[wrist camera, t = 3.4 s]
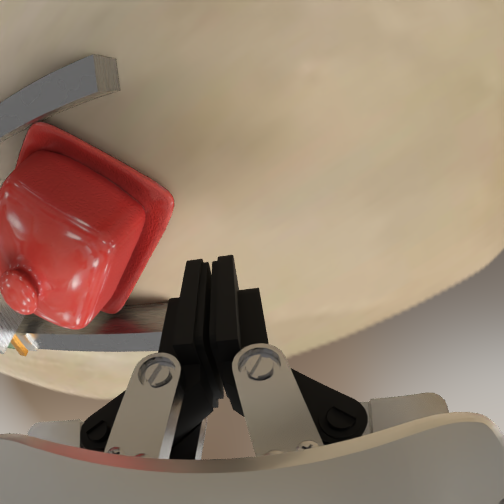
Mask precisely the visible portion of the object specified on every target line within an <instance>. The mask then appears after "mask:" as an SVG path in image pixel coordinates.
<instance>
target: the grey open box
mask: <svg viewBox="0 0 504 504" xmlns="http://www.w3.org/2000/svg"><path fill="white" fill-rule="evenodd" d="M116 91H120V85H119V78H118V71H117V63H116V59H115V58H110V57H105V56H99V55H94V54H93V55H90V56H88V57H85V58H83V59H81V60H78V61H76V62H74V63H71V64H69V65H67V66H65V67H63V68H61V69H59V70H56V71H54V72H52V73H50V74H49V75H47V76H45V77H43V78H41V79H39V80H37V81H35V82H34V83H32V84H30V85H28V86H27V87H25V88H23V89H21V90H20V91H18V92H17V93H15V94H13V95H12V96H10V97H9V98H7V99H5V100H4V101H2V102H1V103H0V142H2V141H4V140H5V139H7V138H9V137H11V136H13V135H14V134H16V133H18V132H20V131H22V130H24V129H26V128H28V127H30V126H31V125H32V124H33V123H35V122H40V121H42V120H44V119H46V118H48V117H50V116H53V115H55V114H57V113H60V112H62V111H64V110H67V109H69V108H72V107H74V106H77V105H79V104H82V103H84V102H87V101H90V100H92V99H95V98H98V97H101V96H104V95H107V94H110V93H113V92H116ZM167 306H168V302H167V303H156V304H144V305H131V306H123V307H122V309H121V310H120V311H119V312H117V313H115V314H109V313H105V312H103V311H100V312H99V313H98V314H97V315H96V316H95V317H94V319H93V320H92V321H91V322H90V323H89V324H88V325H87V326H86V327H84V328H82V329H68V328H64V327H61V326H58V325H56V324H53V323H51V322H49V321H46V320H45V319H43V318H41V317H39V316H37V315H35V314H34V313H32V314H29V315H25V317H24V319H23V320H22V322H21V324H20V326H19V327H18V329H17V331H16V332H15V334H16V335H17V337H18V338H19V340H20V341H21V342H22V344H23V345H24V346H25V347H26V349H27V350H31V351H37V350H38V349H50V350H68V351H104V352H125V351H159V345H160V340H161V335H162V330H163V325H164V320H165V315H166V311H167ZM7 348H12V349H15V347H14V346H13V345H12V344H11V342H10V343H9V345H8V347H7Z"/></svg>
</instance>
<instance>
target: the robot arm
mask: <svg viewBox="0 0 504 504" xmlns="http://www.w3.org/2000/svg"><path fill="white" fill-rule="evenodd" d="M223 386H224V389H225V391H226V394H227V397H228V398H229V399H230V402H231V404H232V407H233V410H235V411H236V412H238V413H239V414H241V415H242V416H244V417H245V420H246V424H247V427H248V431H249V435H250V438H251V442H252V445H253V449H254V452H255V455H256V457H246V458H234V459H233V458H232V459H212V460H201V455H202V449H203V443H204V437H205V431H206V425H207V416H208V415H209V414H210V413H211V412H212V411H213V408H216V407H218V399H223V397H224V392H223ZM0 504H504V435H503V434H502V432H501V430H500V429H499V428H498V427H497V425H496V424H495V423H494V422H493V421H492V420H491V419H489V418H488V417H486V416H484V415H482V414H478V413H470V412H452V413H449V411H448V406H447V404H446V402H445V400H444V399H443V398H442V397H441V396H440V395H437V394H435V393H421V394H414V395H406V396H398V397H389V398H377V399H371V400H370V401H369V402H358V401H356V400H355V399H353V398H350V397H349V396H346V395H344V394H342V393H340V392H338V391H336V390H334V389H331V388H329V387H327V386H325V385H323V384H321V383H319V382H317V381H315V380H313V379H311V378H309V377H307V376H305V375H303V374H301V373H299V372H297V371H295V370H293V369H291V368H290V366H289V364H288V361H287V359H286V357H285V355H284V354H283V352H282V351H281V350H280V349H278V348H277V347H275V346H273V345H270V344H268V338H267V332H266V326H265V321H264V315H263V309H262V303H261V297H260V292H259V288H253V289H245V290H239V287H238V281H237V275H236V269H235V263H234V257H233V255H227V256H220V257H218V261H213V262H212V275H211V271H210V266H209V263H208V262H205V263H203V260H202V259H197V260H190V261H187V262H186V267H185V272H184V277H183V282H182V288H181V293H180V297H179V298H170V299H169V302H168V306H167V311H166V315H165V320H164V325H163V330H162V335H161V340H160V345H159V351H158V353H154V354H151V355H148V356H146V357H145V358H143V359H142V360H141V361H140V362H139V363H138V364H137V365H136V367H135V369H134V371H133V373H132V376H131V379H130V381H129V384H128V386H127V389H126V390H125V391H124V392H123V393H121V394H120V395H119V396H117V397H116V398H115V399H113V400H112V401H110V402H109V403H108V404H107V405H105V406H104V407H102V408H101V409H99V410H98V411H97V412H95V413H94V414H93V415H91V416H90V417H89V418H88V419H87V420H86V421H85V422H82V421H81V420H80V419H79V420H68V421H54V422H39V423H36V424H34V425H33V426H32V427H31V428H30V430H29V432H28V435H21V434H10V433H9V434H0Z"/></svg>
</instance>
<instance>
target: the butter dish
mask: <svg viewBox="0 0 504 504" xmlns="http://www.w3.org/2000/svg"><path fill="white" fill-rule="evenodd" d="M173 208H174V199H173V196H172V195H171V194H170V192H169V191H168V190H167V189H165V188H164V187H162V186H161V185H159V184H158V183H157V182H155V181H153V180H152V179H150V178H149V177H148V176H145V175H143V174H141V173H140V172H138V171H136V170H135V169H133V168H131V167H129V166H128V165H126V164H124V163H122V162H120V161H119V160H117V159H115V158H113V157H111V156H110V155H108V154H106V153H105V152H103V151H101V150H99V149H97V148H96V147H93V146H92V145H90V144H88V143H86V142H84V141H82V140H81V139H79V138H77V137H75V136H74V135H71V134H69V133H67V132H65V131H64V130H62V129H59V128H58V127H55V126H53V125H51V124H48V123H45V122H35V123H33V124H32V125H31V126H30V128H29V130H28V132H27V134H26V136H25V139H24V141H23V145H22V148H21V150H20V154H19V157H18V160H17V164H16V168H15V169H14V170H13V172H12V173H11V174H10V175H9V176H8V177H7V178H6V180H5V181H4V183H3V185H2V187H1V189H0V291H1V294H2V297H3V298H4V300H5V302H6V303H7V304H8V305H9V306H10V307H11V308H12V309H13V310H15V311H16V312H18V313H20V314H24V315H29V314H32V313H34V314H35V315H37V316H39V317H41V318H43V319H45V320H46V321H49V322H51V323H53V324H56V325H58V326H61V327H64V328H68V329H82V328H84V327H86V326H87V325H88V324H89V323H90V322H91V321H92V320H93V319H94V317H95V316H96V315H97V314H98V313H99V312H100V311H103V312H105V313H109V314H115V313H117V312H119V311H120V310H121V309H122V307H123V306H124V305H125V302H126V300H128V298H129V296H130V293H131V292H132V290H133V288H134V286H135V284H136V283H137V281H138V279H139V277H140V275H141V273H142V272H143V270H144V268H145V266H146V264H147V262H148V260H149V258H150V257H151V255H152V253H153V251H154V249H155V248H156V246H157V244H158V242H159V240H160V238H161V237H162V235H163V233H164V231H165V230H166V226H167V225H168V222H169V220H170V218H171V215H172V211H173Z"/></svg>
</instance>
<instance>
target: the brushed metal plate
mask: <svg viewBox="0 0 504 504" xmlns="http://www.w3.org/2000/svg"><path fill="white" fill-rule="evenodd" d="M24 317H25V315H24V314H20V313H18V312H16V311H15V310H13V309H12V308H11V307H10V306H9V305H8V304H7V303H6V302H5V300H4V298H3V297H2V294H1V291H0V353H1V354H4V353H5V351H6V349H7V347H8V345H9V343H10V342H11V344H12V345H13V346H14V347H15V349H16V350H17V351H18V352H19V354H20V355H22V356H26V355H27V353H28V350H27V349H26V347H25V346H24V345H23V344H22V342H21V341H20V340H19V338H18V337H17V335H16V334H15V332H16V331H17V329H18V327H19V326H20V324H21V322H22V320H23V319H24Z"/></svg>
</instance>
